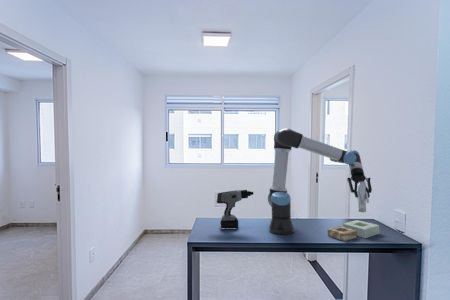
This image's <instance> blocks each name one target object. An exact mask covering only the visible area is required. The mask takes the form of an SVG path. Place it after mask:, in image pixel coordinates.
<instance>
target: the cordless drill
mask: <svg viewBox="0 0 450 300" xmlns="http://www.w3.org/2000/svg"><path fill="white" fill-rule="evenodd" d="M253 195H254V191H250V190H248V189H237V190H230V191H223V192H218V193H217V197H216V204H225V205H226V207H225V208H224V211H223V215H221V219H220V229H221V228H238V229H239V220H238V217H237V216H236V215H234V214H232V213H231V211H232V209H233V208H235V207H236V203H237V202H240V201H241V200H242V199H243V200H244V199H248V198H249V197H250V196H253Z"/></svg>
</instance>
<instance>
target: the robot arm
mask: <svg viewBox="0 0 450 300" xmlns="http://www.w3.org/2000/svg"><path fill="white" fill-rule="evenodd" d="M292 148H294V149H301V150H305V151H307V152H311V153H314V154H317V155H320V156H322V157H324V158H329V160H330V162H334V163H340V164H344V165H345V164H346V165H349V171H350V176H351V177H347V182H348V186H349V190H350V193H352V194H354V197H355V198H357V199H356V200H357V203H360V196H359V192H358V181H365V182H366V204H369V202H370V199H369V198H370V194H371V193H372V190H373V189H372V184H371V177H366V176H365V173H364V167H363V164H362V160H361V159H362V158H361V155H360V153H359V151H358V150H349V151H347V150H344V149H341V148H338V147H336V146H333V145H330V144H327V143H324V142H321V141H318V140H315V139H312V138H309V137H306V136H304V134H303V133H301V132H298V131H296V130H293V129H290V128H287V127H285V128H281V129H279V130H277V131H276V132H275V133H274V135H273V149H274V150H275V157H274V166H273V176H272V177H273V178H272V186H270V187H269V194H268V196H267V201H268V202H267V203H268V204H269V206H270V207H271V220H270V225H269V226H268V229H269V232H270V233H272V234H276V235H290V234H293V233H294V231H295V227H294V224H293V221H292V219H291V218H292V215H291V214H292V212H291V210H292V209H291V207H292V205H291V202H292V201H291V199H292V198H291V195H290V194H289V193H288V189H287V188H286V184H287V175H288V174H287V173H288V163H289V153H290V152H291V151H292ZM352 182H353V183H354V187H353V183H352Z"/></svg>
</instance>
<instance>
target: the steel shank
mask: <svg viewBox="0 0 450 300" xmlns="http://www.w3.org/2000/svg"><path fill="white" fill-rule="evenodd" d="M366 186H367V181H366V180H365V181H358V183H357V191H358V192H359V196H360V203H358V202H357V203H358V212H359V213H366V212H367V201H366Z"/></svg>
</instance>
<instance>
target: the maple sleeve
mask: <svg viewBox="0 0 450 300" xmlns="http://www.w3.org/2000/svg"><path fill="white" fill-rule="evenodd" d="M327 237H330V238H334V239H337V240H339V241H342V242H347V241H350V240H353V239H356V238H357V237H358V236H357V230H353V229H349V228H346V227H343V225H338V226H334V227H331V228H330V227H329V228H328V229H327Z"/></svg>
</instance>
